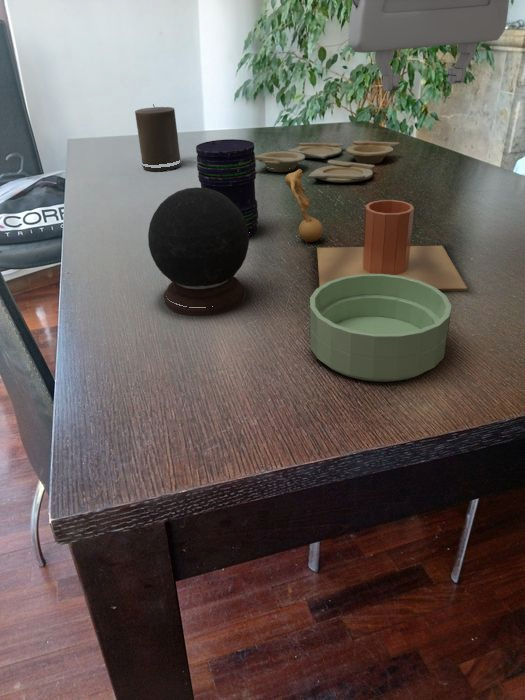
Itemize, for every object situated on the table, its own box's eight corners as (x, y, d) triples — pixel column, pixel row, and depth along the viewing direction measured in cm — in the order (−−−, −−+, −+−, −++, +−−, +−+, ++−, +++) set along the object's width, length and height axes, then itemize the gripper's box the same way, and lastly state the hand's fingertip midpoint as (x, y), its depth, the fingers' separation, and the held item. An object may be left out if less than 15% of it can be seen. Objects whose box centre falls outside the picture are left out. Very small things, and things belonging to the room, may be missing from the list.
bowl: (429, 316, 72) (435, 272, 69) (458, 385, 59) (466, 335, 56) (309, 317, 73) (309, 274, 70) (310, 385, 60) (311, 336, 57)
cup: (403, 257, 88) (409, 199, 83) (411, 274, 82) (417, 213, 77) (360, 258, 88) (363, 200, 83) (364, 275, 82) (368, 214, 78)
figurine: (321, 250, 92) (322, 175, 86) (284, 250, 93) (283, 176, 87) (323, 232, 99) (324, 162, 93) (288, 232, 100) (287, 163, 94)
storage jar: (270, 231, 101) (267, 143, 93) (229, 246, 95) (222, 154, 88) (233, 219, 107) (227, 136, 100) (192, 233, 102) (182, 146, 94)
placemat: (442, 247, 91) (442, 245, 91) (466, 290, 78) (467, 288, 77) (317, 249, 93) (317, 247, 92) (319, 292, 79) (319, 289, 79)
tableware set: (356, 190, 121) (357, 170, 119) (239, 177, 134) (238, 159, 132) (407, 154, 146) (409, 138, 144) (305, 146, 159) (305, 131, 157)
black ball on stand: (137, 300, 79) (119, 193, 71) (206, 270, 87) (197, 170, 79) (202, 329, 71) (189, 212, 64) (271, 292, 80) (267, 185, 72)
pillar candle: (164, 173, 140) (156, 107, 132) (135, 169, 144) (125, 106, 137) (189, 164, 147) (182, 101, 139) (160, 161, 151) (152, 100, 144)
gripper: (364, -41, 62) (360, 97, 69) (524, -50, 66) (505, 81, 73) (340, -36, 67) (339, 92, 74) (491, -45, 71) (476, 77, 79)
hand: (423, 86), depth 74 cm, fingers open, 8 cm apart
